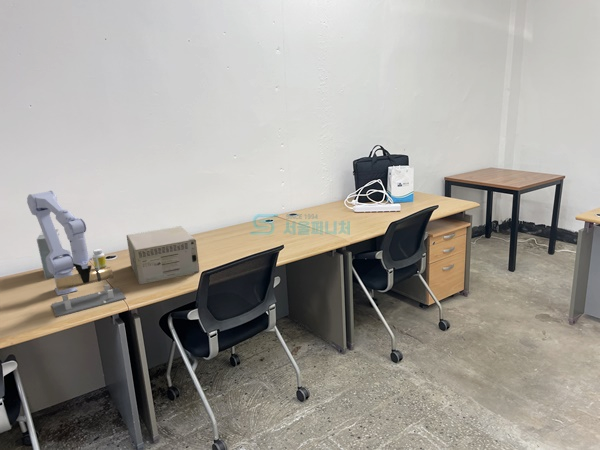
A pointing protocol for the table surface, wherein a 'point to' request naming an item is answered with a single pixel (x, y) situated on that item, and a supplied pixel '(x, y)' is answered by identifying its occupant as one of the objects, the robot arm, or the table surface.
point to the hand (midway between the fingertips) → (85, 280)
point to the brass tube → (77, 281)
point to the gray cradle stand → (87, 301)
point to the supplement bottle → (99, 259)
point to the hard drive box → (45, 253)
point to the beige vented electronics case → (162, 254)
